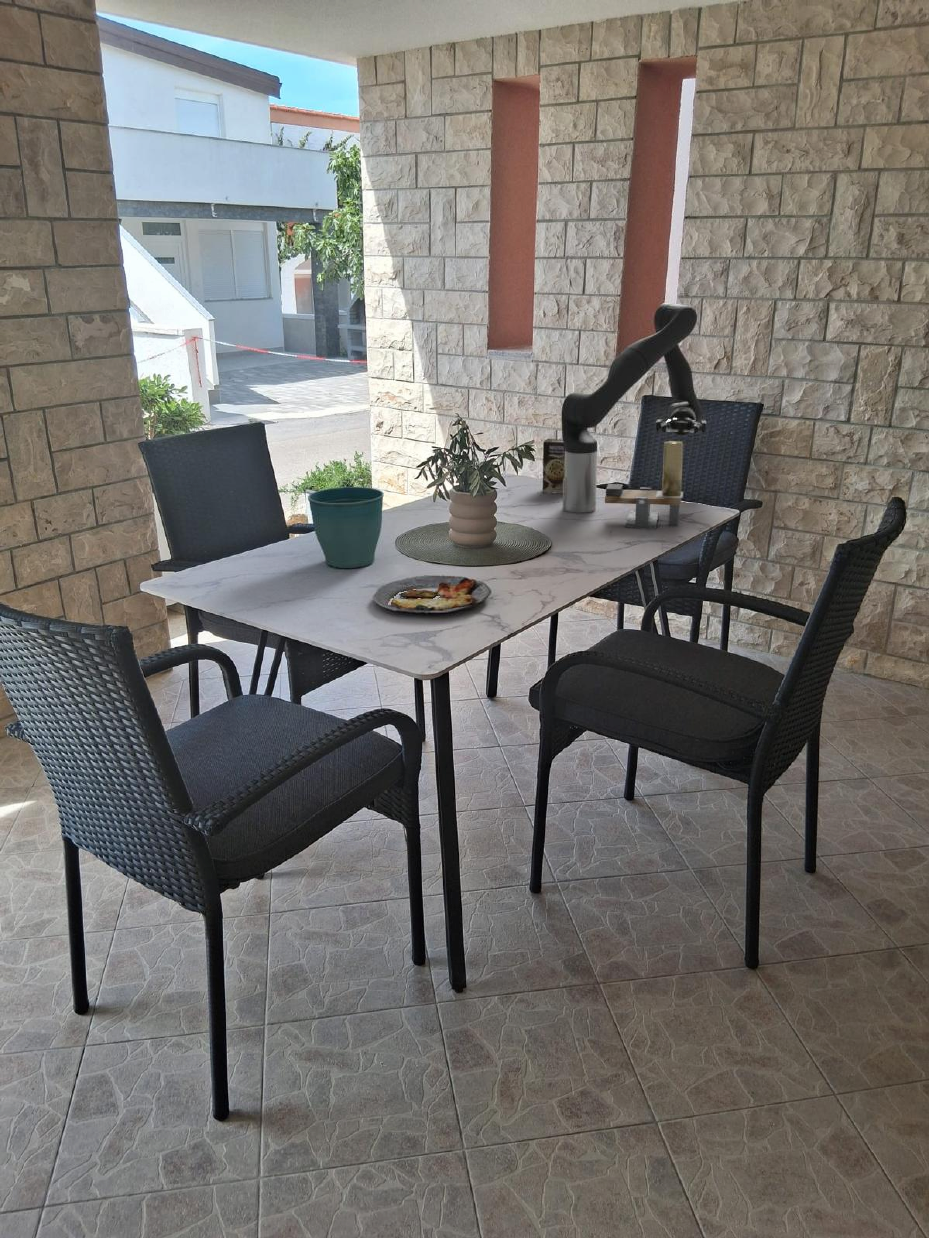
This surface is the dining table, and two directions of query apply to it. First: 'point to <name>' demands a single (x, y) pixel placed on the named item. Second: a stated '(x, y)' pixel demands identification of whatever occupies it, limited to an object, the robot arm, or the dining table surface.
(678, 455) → the block
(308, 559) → the dining table surface
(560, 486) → the cookie box
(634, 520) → the beam stand
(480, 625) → the dining table surface
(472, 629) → the dining table surface
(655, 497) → the beam
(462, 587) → the food plate
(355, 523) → the flower pot
